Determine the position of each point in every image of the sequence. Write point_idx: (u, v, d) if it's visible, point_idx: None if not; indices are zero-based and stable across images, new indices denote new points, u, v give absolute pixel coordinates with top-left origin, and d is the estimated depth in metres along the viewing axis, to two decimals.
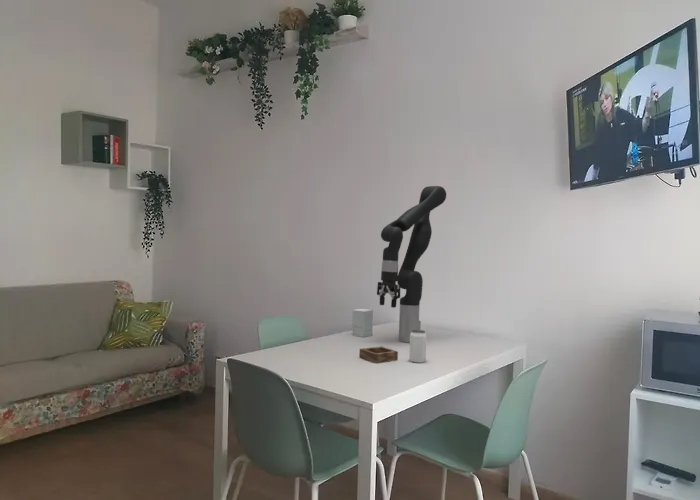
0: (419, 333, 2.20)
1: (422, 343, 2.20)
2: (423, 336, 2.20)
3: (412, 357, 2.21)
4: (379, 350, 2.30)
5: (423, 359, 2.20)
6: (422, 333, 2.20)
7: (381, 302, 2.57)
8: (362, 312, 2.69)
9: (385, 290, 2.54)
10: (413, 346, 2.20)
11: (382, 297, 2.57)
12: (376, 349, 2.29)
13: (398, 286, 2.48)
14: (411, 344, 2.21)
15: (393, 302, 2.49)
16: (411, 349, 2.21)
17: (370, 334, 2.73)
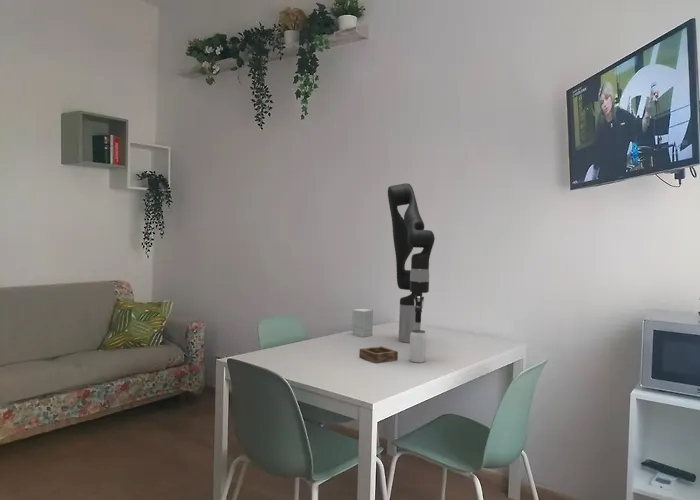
0: (419, 333, 2.20)
1: (422, 343, 2.20)
2: (423, 336, 2.20)
3: (412, 357, 2.21)
4: (379, 350, 2.30)
5: (423, 359, 2.20)
6: (422, 333, 2.20)
7: None
8: (362, 312, 2.69)
9: None
10: (413, 346, 2.20)
11: None
12: (376, 349, 2.29)
13: None
14: (411, 344, 2.21)
15: None
16: (411, 349, 2.21)
17: (370, 334, 2.73)
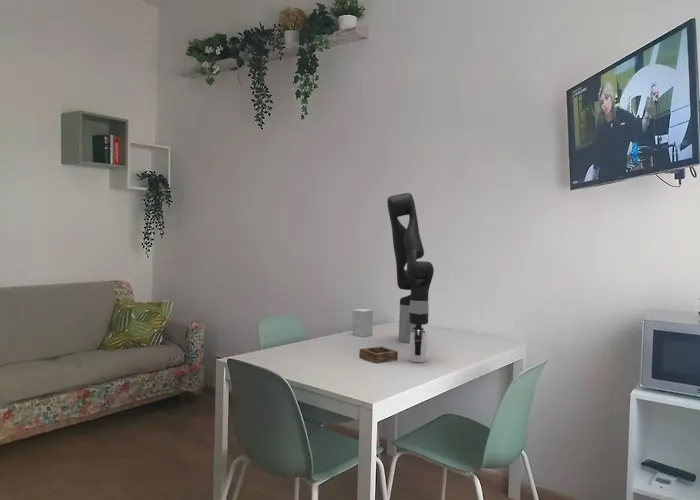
0: None
1: (422, 343, 2.20)
2: (423, 336, 2.20)
3: (412, 357, 2.21)
4: (379, 350, 2.30)
5: (423, 359, 2.20)
6: None
7: None
8: (362, 312, 2.69)
9: None
10: (413, 346, 2.20)
11: None
12: (376, 349, 2.29)
13: None
14: (411, 344, 2.21)
15: None
16: (411, 349, 2.21)
17: (370, 334, 2.73)
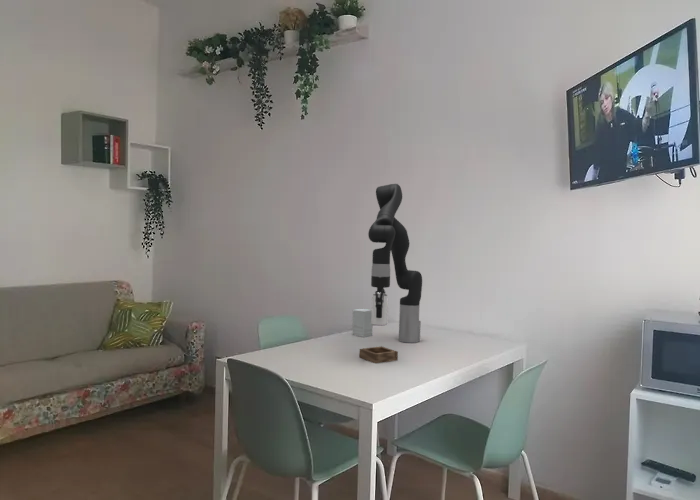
0: None
1: (383, 306, 2.21)
2: (384, 299, 2.21)
3: (373, 320, 2.22)
4: (379, 350, 2.30)
5: (384, 322, 2.22)
6: None
7: None
8: (362, 312, 2.69)
9: None
10: (374, 309, 2.22)
11: None
12: (376, 349, 2.29)
13: None
14: (373, 307, 2.22)
15: None
16: (373, 312, 2.22)
17: (370, 334, 2.73)
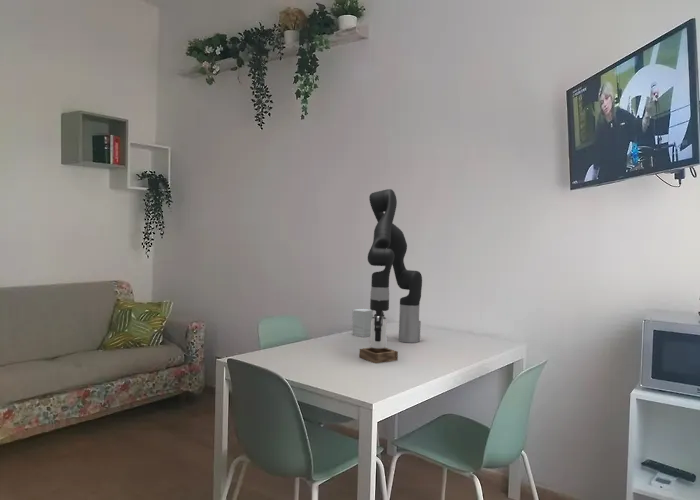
0: None
1: (382, 329, 2.21)
2: (383, 322, 2.22)
3: (372, 344, 2.22)
4: (379, 350, 2.30)
5: (383, 345, 2.22)
6: None
7: None
8: (362, 312, 2.69)
9: None
10: (373, 332, 2.22)
11: None
12: (376, 349, 2.29)
13: None
14: (372, 330, 2.23)
15: None
16: (371, 335, 2.23)
17: (370, 334, 2.73)
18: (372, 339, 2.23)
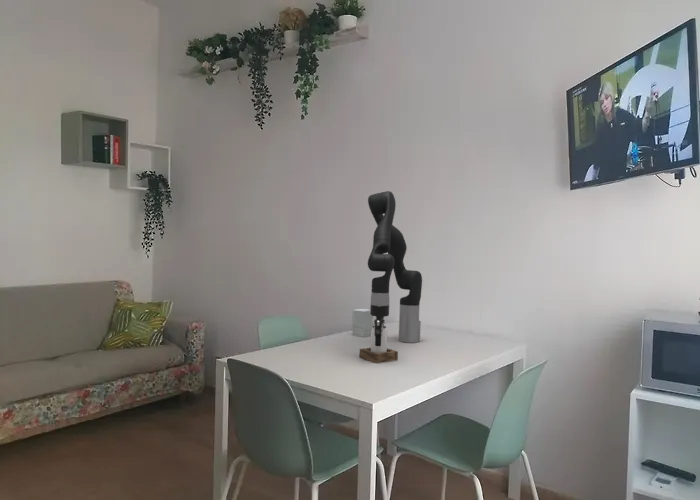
0: None
1: (382, 338, 2.22)
2: (383, 331, 2.22)
3: None
4: None
5: None
6: None
7: None
8: (362, 312, 2.69)
9: None
10: (374, 341, 2.22)
11: None
12: None
13: None
14: (372, 339, 2.23)
15: None
16: (372, 344, 2.23)
17: (370, 334, 2.73)
18: (372, 348, 2.23)
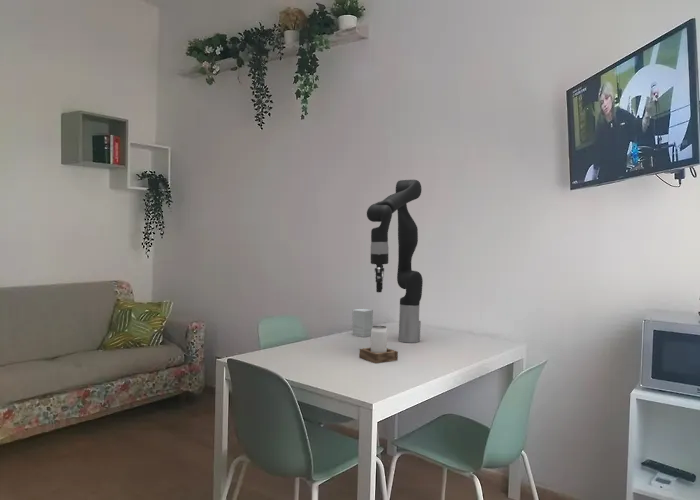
0: (379, 328, 2.22)
1: (382, 338, 2.22)
2: (383, 331, 2.22)
3: None
4: None
5: None
6: (382, 328, 2.22)
7: None
8: (362, 312, 2.69)
9: None
10: (374, 341, 2.22)
11: None
12: None
13: None
14: (372, 339, 2.23)
15: None
16: (372, 344, 2.23)
17: (370, 334, 2.73)
18: (372, 348, 2.23)
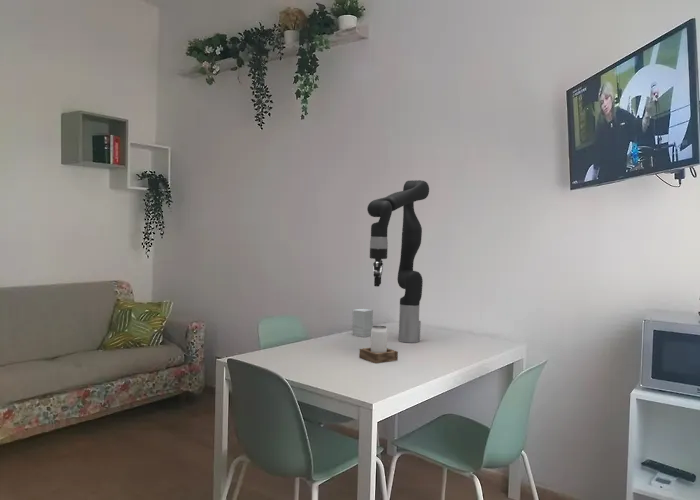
0: (379, 328, 2.22)
1: (382, 338, 2.22)
2: (383, 331, 2.22)
3: None
4: None
5: None
6: (382, 328, 2.22)
7: None
8: (362, 312, 2.69)
9: None
10: (374, 341, 2.22)
11: None
12: None
13: None
14: (372, 339, 2.23)
15: None
16: (372, 344, 2.23)
17: (370, 334, 2.73)
18: (372, 348, 2.23)
